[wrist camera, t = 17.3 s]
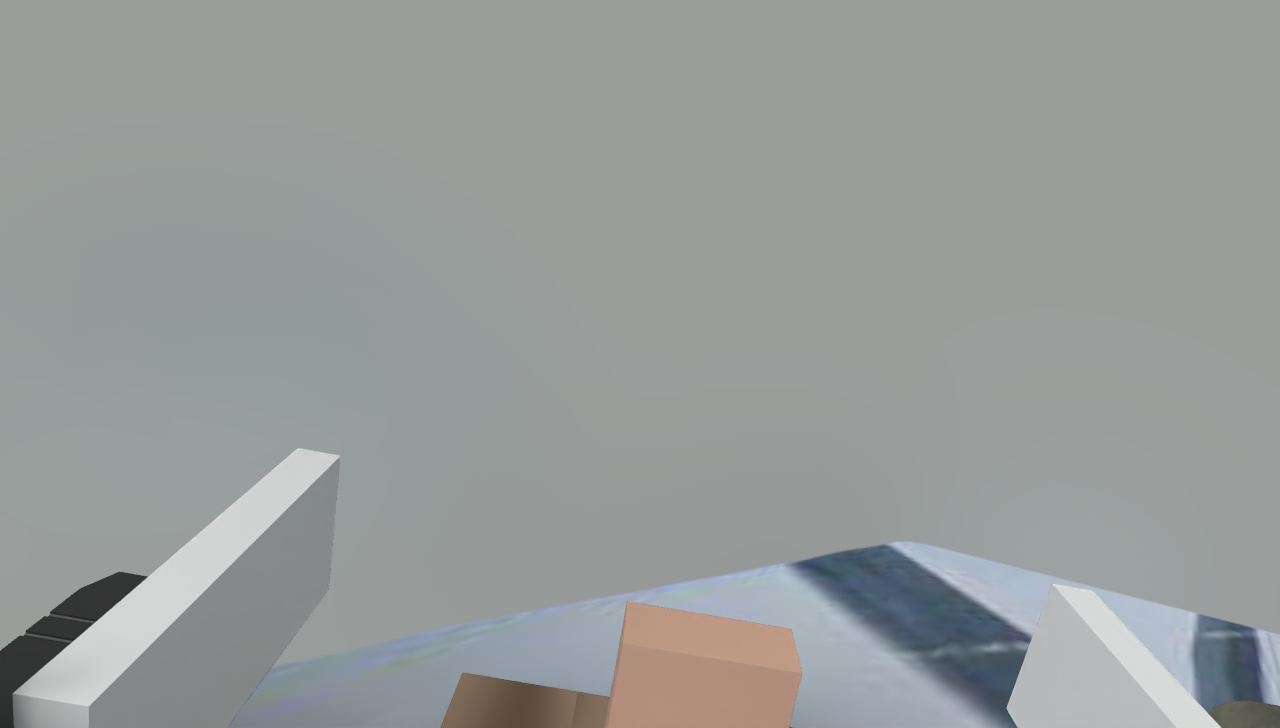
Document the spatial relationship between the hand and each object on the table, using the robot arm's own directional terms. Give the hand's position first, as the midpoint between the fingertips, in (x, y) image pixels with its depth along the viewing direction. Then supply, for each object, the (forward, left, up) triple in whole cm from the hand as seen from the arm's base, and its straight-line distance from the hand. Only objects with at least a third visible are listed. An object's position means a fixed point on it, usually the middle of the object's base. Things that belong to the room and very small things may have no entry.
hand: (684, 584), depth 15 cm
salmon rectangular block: (+3, +16, -23) cm, 28 cm away
